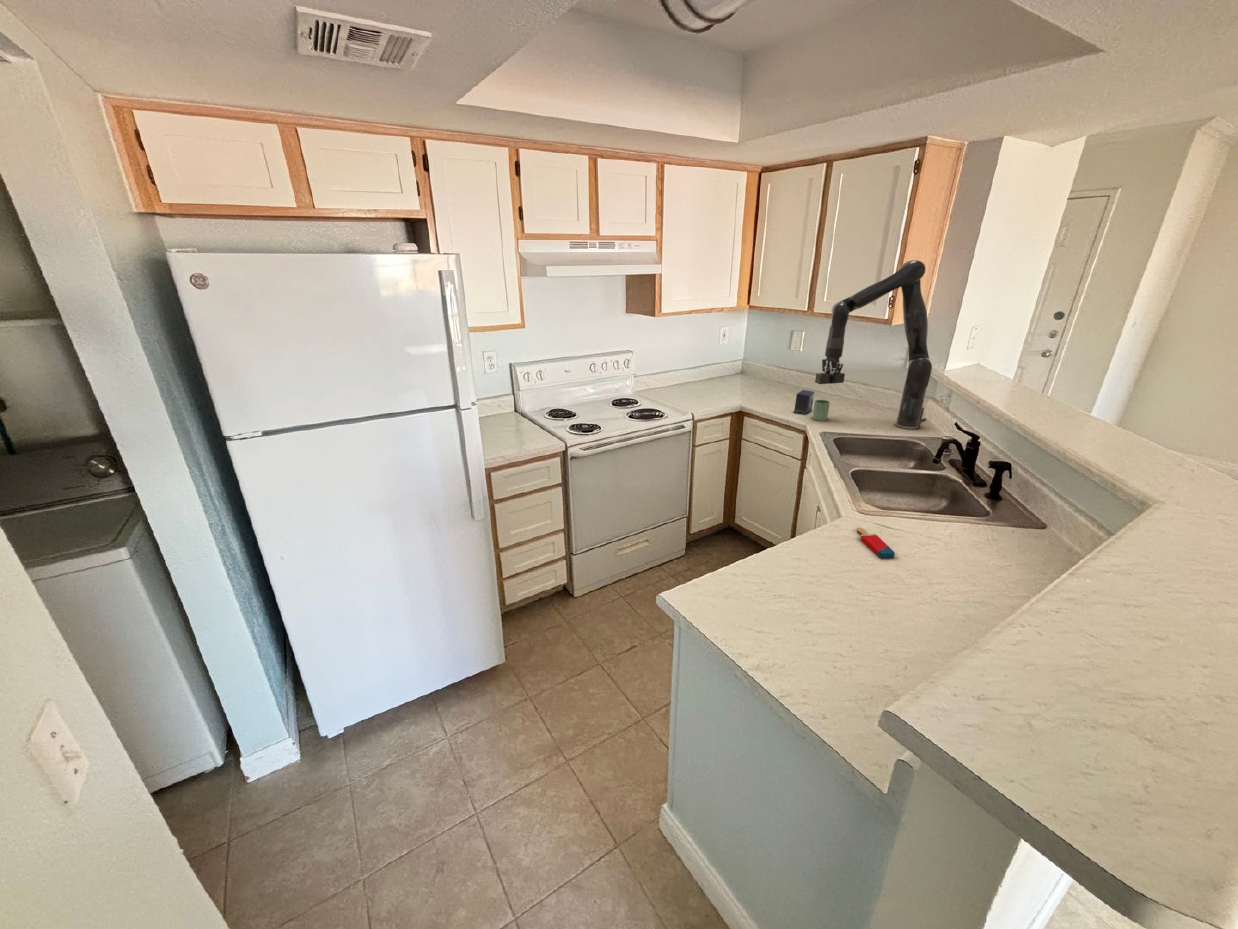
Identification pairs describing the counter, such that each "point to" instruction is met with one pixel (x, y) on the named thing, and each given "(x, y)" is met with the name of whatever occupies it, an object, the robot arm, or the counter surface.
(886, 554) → the popsicle
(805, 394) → the small box
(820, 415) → the cup
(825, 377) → the bar
